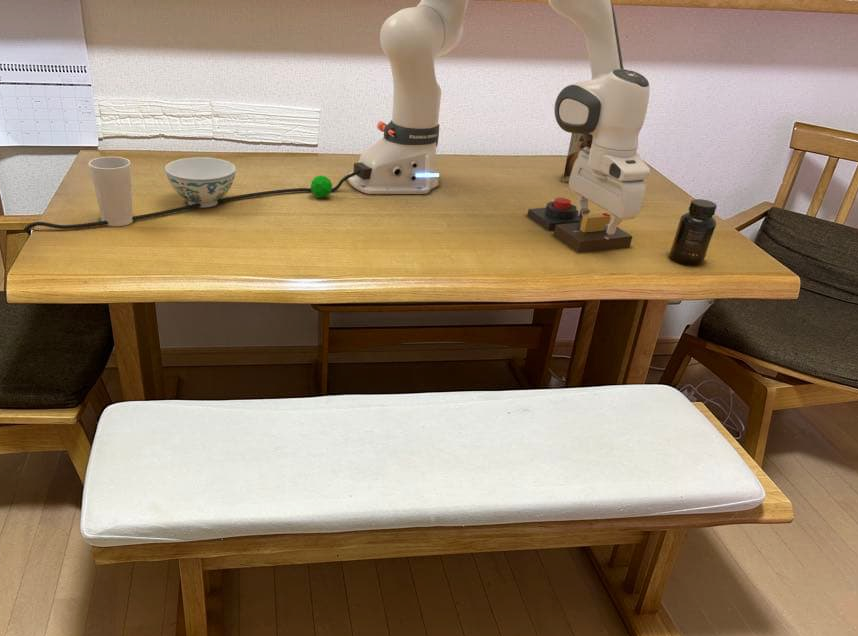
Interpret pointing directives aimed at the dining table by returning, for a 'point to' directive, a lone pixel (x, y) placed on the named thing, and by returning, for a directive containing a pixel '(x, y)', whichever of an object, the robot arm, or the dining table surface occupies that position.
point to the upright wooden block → (594, 222)
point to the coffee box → (575, 151)
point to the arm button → (562, 203)
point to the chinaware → (201, 179)
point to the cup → (113, 189)
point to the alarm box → (554, 216)
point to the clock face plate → (591, 238)
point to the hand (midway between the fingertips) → (595, 224)
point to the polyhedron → (321, 186)
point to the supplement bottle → (694, 233)
